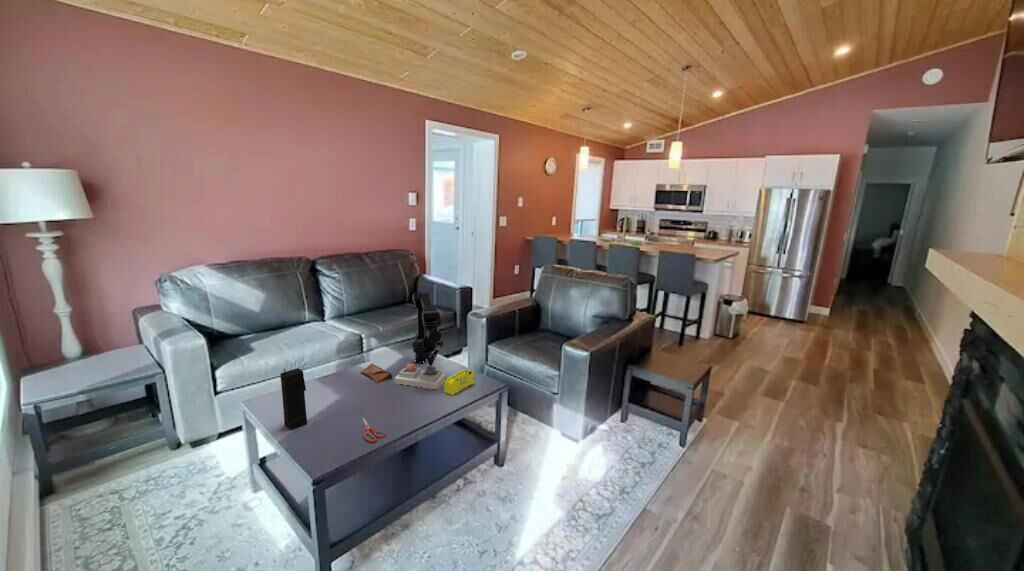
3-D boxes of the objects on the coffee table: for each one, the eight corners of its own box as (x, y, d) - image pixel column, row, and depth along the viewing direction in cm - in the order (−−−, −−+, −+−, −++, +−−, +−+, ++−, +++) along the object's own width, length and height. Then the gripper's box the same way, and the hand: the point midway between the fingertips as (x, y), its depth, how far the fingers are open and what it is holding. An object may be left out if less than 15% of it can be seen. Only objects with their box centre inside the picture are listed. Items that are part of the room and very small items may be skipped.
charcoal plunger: (428, 370, 207) (428, 365, 206) (436, 372, 206) (436, 366, 205) (424, 374, 203) (424, 369, 202) (433, 375, 202) (433, 370, 201)
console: (406, 373, 215) (405, 364, 214) (446, 379, 210) (446, 369, 209) (394, 383, 203) (394, 373, 202) (436, 390, 198) (436, 380, 197)
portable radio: (303, 417, 172) (298, 360, 166) (310, 422, 168) (306, 364, 162) (283, 424, 166) (278, 366, 160) (290, 430, 162) (284, 371, 156)
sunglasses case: (357, 372, 213) (363, 360, 215) (368, 375, 219) (374, 363, 220) (377, 383, 202) (383, 370, 204) (388, 386, 208) (394, 373, 209)
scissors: (363, 416, 175) (363, 412, 175) (388, 437, 161) (388, 434, 160) (345, 422, 170) (345, 419, 169) (369, 445, 155) (369, 442, 155)
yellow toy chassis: (453, 396, 193) (453, 380, 191) (443, 393, 196) (443, 376, 194) (474, 384, 206) (475, 368, 204) (465, 381, 209) (466, 365, 207)
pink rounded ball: (408, 367, 209) (408, 362, 209) (416, 369, 208) (416, 363, 208) (404, 371, 205) (404, 366, 204) (412, 372, 204) (412, 367, 203)
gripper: (423, 327, 210) (423, 356, 214) (406, 339, 193) (406, 371, 196) (444, 329, 208) (444, 359, 212) (428, 342, 190) (428, 374, 194)
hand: (430, 365), depth 203 cm, fingers closed
